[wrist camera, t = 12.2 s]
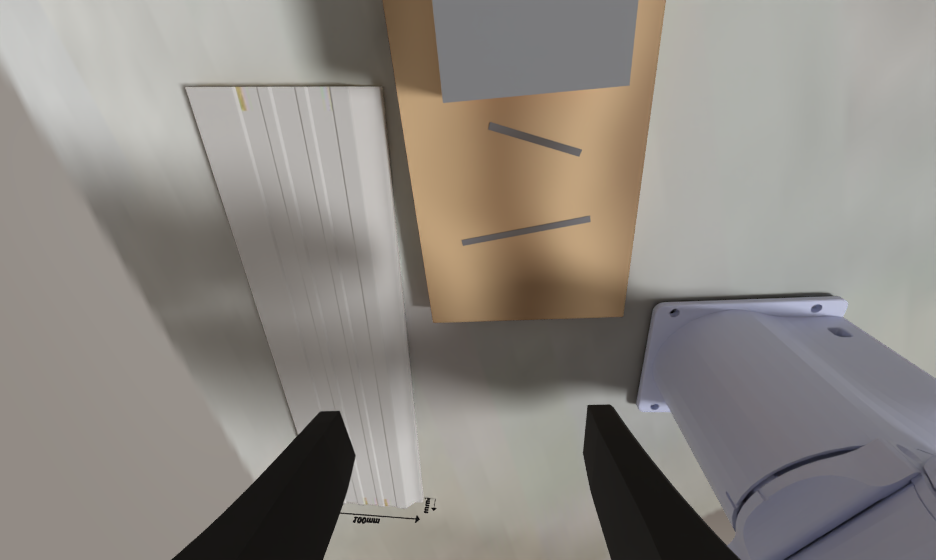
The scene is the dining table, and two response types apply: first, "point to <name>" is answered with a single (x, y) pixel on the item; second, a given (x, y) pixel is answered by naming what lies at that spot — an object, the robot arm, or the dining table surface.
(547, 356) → the dining table surface
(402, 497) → the baseboard
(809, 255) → the dining table surface
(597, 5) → the block
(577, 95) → the board
